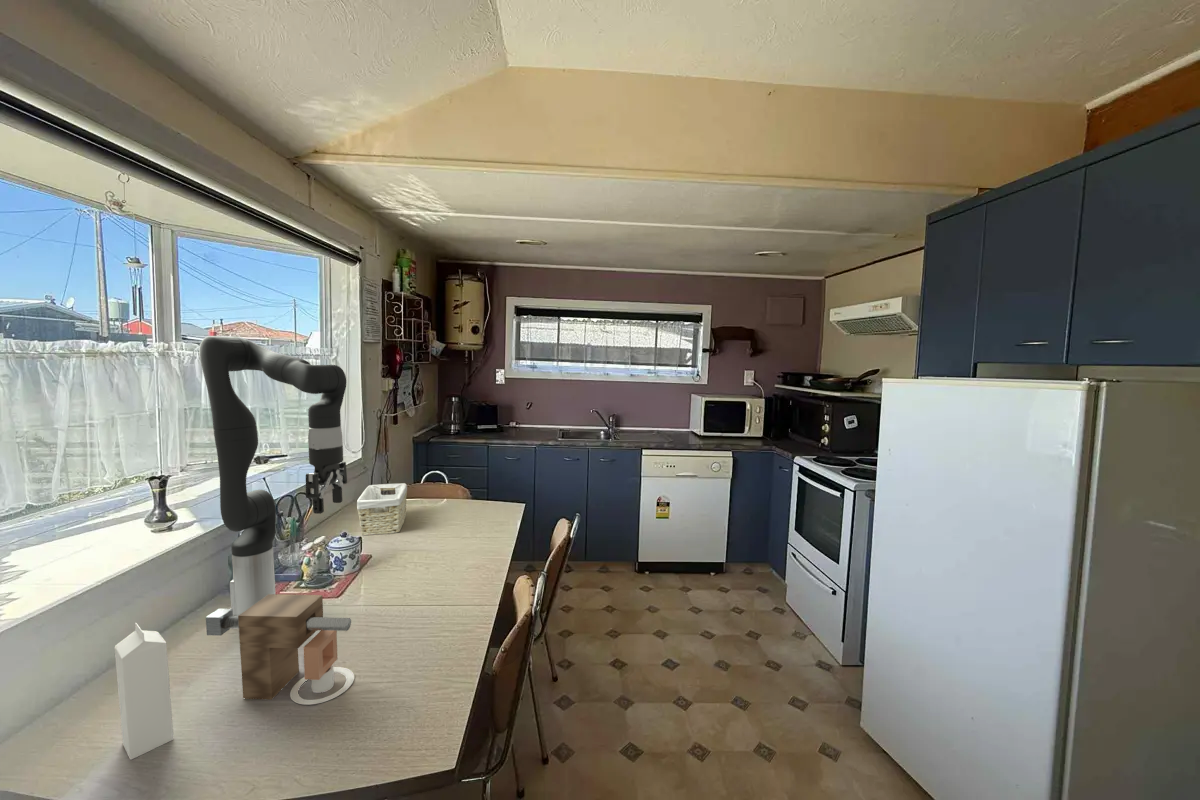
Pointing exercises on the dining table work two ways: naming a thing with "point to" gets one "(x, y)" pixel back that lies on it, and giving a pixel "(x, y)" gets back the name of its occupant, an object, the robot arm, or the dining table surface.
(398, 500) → the storage basket
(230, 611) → the shaft
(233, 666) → the dining table surface
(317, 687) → the candle holder
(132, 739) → the milk
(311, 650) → the spacer
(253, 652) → the bearing block
